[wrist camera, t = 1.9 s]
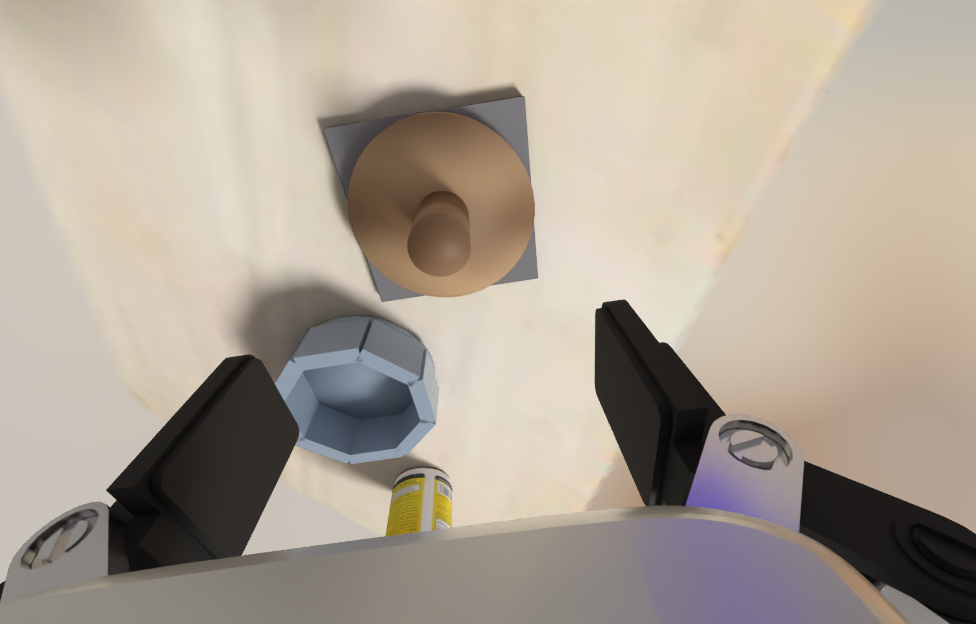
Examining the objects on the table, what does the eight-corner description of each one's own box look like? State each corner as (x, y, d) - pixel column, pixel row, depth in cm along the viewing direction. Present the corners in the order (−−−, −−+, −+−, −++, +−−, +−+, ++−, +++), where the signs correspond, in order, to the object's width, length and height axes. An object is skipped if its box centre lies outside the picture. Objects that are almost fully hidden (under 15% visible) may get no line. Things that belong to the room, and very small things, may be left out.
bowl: (270, 327, 25) (241, 365, 22) (417, 304, 25) (410, 340, 21) (326, 426, 30) (309, 470, 27) (447, 408, 30) (445, 450, 27)
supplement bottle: (387, 495, 35) (365, 622, 27) (403, 460, 33) (383, 588, 25) (441, 504, 37) (436, 627, 28) (460, 471, 34) (460, 596, 26)
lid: (323, 128, 18) (280, 144, 14) (524, 96, 18) (545, 102, 14) (381, 301, 24) (363, 352, 19) (537, 278, 23) (555, 324, 19)
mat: (327, 127, 19) (323, 129, 18) (522, 95, 19) (524, 96, 18) (383, 297, 24) (381, 301, 24) (536, 274, 24) (538, 278, 23)
